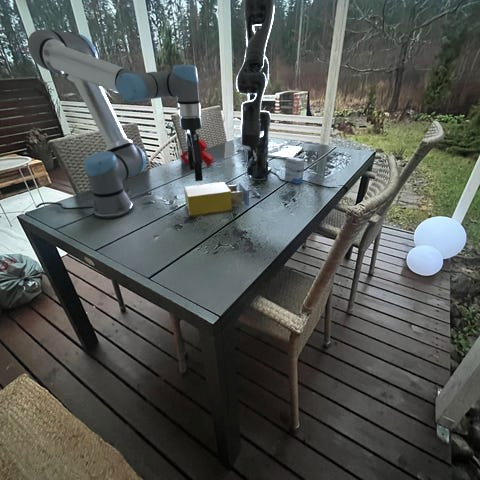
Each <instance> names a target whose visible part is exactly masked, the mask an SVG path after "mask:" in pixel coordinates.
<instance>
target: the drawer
mask: <svg viewBox="0 0 480 480" xmlns="http://www.w3.org/2000/svg"><path fill="white" fill-rule="evenodd" d="M227 187H228V188H229V189H230V191H231V207H237V206H243V204H244V205H245V207H249V206H250V199H258V200H259V199H261V194H260V193H258V192H257V191H256V190H255V188H253V187H251V188H248V187H246V185H245V184H244V183H243V182H242V181H241V182H238V186H237V184H229V185H227ZM250 193H252V194H253V196H250Z"/></svg>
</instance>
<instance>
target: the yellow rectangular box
mask: <svg viewBox="0 0 480 480" xmlns="http://www.w3.org/2000/svg"><path fill="white" fill-rule="evenodd" d="M227 186H228V185H227V184H226V183H225V181H220V182H211V183H203V184H195V185H187V186H183V192H184V199H185V206H186V209H187V212H188V215H189V217H190V218H198V217H203V216H210V215H216V214H223V213H230V212H232V211H233V209H232V206H231V191H230V189H229V188H228V187H227Z"/></svg>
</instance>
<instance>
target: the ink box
mask: <svg viewBox="0 0 480 480" xmlns="http://www.w3.org/2000/svg"><path fill="white" fill-rule="evenodd" d="M305 162H306V159H304V158H299V157H296V156H294V157H289V158H287V159H286V158H285V169H284V180H285V181H284V182H289V183H293V184H295V185H298V184H300V183H302V182H304V181H303V180H304V173H305V171H304V170H305Z"/></svg>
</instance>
